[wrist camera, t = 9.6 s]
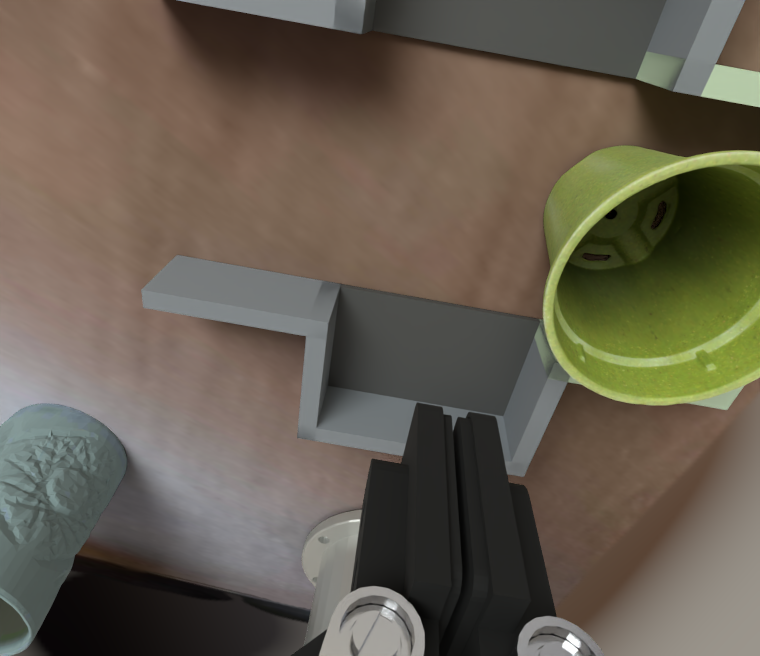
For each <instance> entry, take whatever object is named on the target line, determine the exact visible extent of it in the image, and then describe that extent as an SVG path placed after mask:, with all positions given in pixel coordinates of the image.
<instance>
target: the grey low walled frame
mask: <svg viewBox="0 0 760 656" xmlns="http://www.w3.org/2000/svg"><path fill="white" fill-rule="evenodd" d="M178 1H184V2H189V3H195V4H200V5H205V6H211V7H216V8H222V9H227V10H233V11H238V12H244V13H249V14H254V15H260V16H265V17H271V18H276V19H282V20H287V21H293V22H298V23H304V24H309V25H314V26H320V27H325V28H331V29H336V30H342V31H347V32H353V33H358V34H364V33H366V32H369V31H378V32H383V33H389V34H394V35H399V36H405V37H410V38H416V39H421V40H427V41H432V42H438V43H443V44H448V45H454V46H459V47H465V48H470V49H476V50H481V51H487V52H492V53H497V54H503V55H508V56H514V57H519V58H525V59H530V60H536V61H541V62H546V63H552V64H557V65H563V66H568V67H574V68H579V69H585V70H590V71H595V72H601V73H606V74H612V75H617V76H623V77H628V78H634V79H638V80H641V81H643V82H646V83H649V84H652V85H655V86H658V87H661V88H664V89H667V90H670V91H674V92H679V93H685V94H690V95H696V96H701V97H707V98H712V99H718V100H723V101H728V102H734V103H739V104H745V105H750V106H756V107H760V72H755V71H750V70H744V69H739V68H733V67H728V66H723V65H717V64H716V62H717V60H718V58H719V56H720V54H721V51H722V49H723V47H724V45H725V43H726V41H727V39H728V36H729V34H730V32H731V30H732V28H733V26H734V23H735V21H736V19H737V17H738V15H739V13H740V11H741V8H742V6H743V4H744V2H745V0H178ZM141 292H142V300H143V308H148V309H154V310H159V311H165V312H171V313H177V314H182V315H188V316H194V317H199V318H205V319H211V320H216V321H222V322H228V323H234V324H239V325H245V326H251V327H256V328H262V329H268V330H273V331H279V332H285V333H290V334H296V335H302V336H306V344H305V355H304V367H303V378H302V389H301V401H300V412H299V423H298V435H297V438H301V439H307V440H313V441H319V442H325V443H330V444H336V445H342V446H348V447H353V448H359V449H365V450H371V451H377V452H382V453H388V454H394V455H400V456H403V454H404V450H405V446H406V441H407V437H408V433H409V429H410V425H411V421H412V417H413V413H414V409H415V406H416V403H417V402H418V403H423V404H429V405H435V406H440V407H442V408H443V414H446V415H451V416H452V426H453V430H454V426H455V423H456V420H457V418H458V417H463V418H466V416H467V414H468V412H474V413H480V414H486V415H491V416H495V417H496V419H497V423H498V428H499V434H500V439H501V444H502V450H503V455H504V460H505V466H506V471H507V474H510V475H515V476H521V477H524V475H525V473H526V471H527V469H528V466H529V464H530V462H531V460H532V458H533V456H534V454H535V451H536V449H537V447H538V445H539V443H540V441H541V438H542V436H543V434H544V432H545V430H546V428H547V426H548V423H549V421H550V419H551V417H552V415H553V413H554V411H555V408H556V406H557V404H558V402H559V400H560V398H561V395H562V393H563V391H564V389H565V387H566V385H567V383H568V382H569V383H575V384H580V383H578V382H577V381H576V380H575V379H573V378H572V377H571V376H570V375H569V374H568V373H567V372H566V371H565V370H564V369H563V368H562V366H561V365H560V364H559V362H558V361H557V359H556V358H555V356H554V354H553V352H552V350H551V348H550V345H549V342H548V340H547V336H546V332H545V328H544V322H543V320H542V319H536V318H530V317H525V316H519V315H513V314H508V313H502V312H496V311H491V310H485V309H479V308H474V307H468V306H463V305H457V304H451V303H446V302H440V301H434V300H429V299H423V298H417V297H412V296H406V295H400V294H395V293H389V292H383V291H378V290H372V289H367V288H361V287H355V286H350V285H344V284H338V283H333V282H327V281H321V280H316V279H310V278H304V277H299V276H293V275H287V274H282V273H276V272H271V271H265V270H259V269H254V268H248V267H242V266H237V265H231V264H225V263H220V262H214V261H208V260H203V259H197V258H191V257H186V256H180V255H177V256H176V257H175V258H174V259H173V260H171V261H170V262H169V263H168V264H167V265H166V266H165V267H164V268H163V269H162V270H161V271H160V272H159V273H158V274H157V275H156V276H155V277H154V278H153V279H152V280H151V281H150V282H149V283H148V284H147V285H146V286H145V287H144V288H143V289H142V290H141ZM581 385H582V384H581ZM744 386H745V385H744ZM744 386H742V387H740V388H737V389H734V390H731V391H729V392H726V393H723V394H721V395H718V396H715V397H712V398H709V399H705V400H701V401H696V402H690V403H689V404H695V405H700V406H706V407H712V408H718V409H723V410H727V409H728V408H729V406H730V405H731V404H732V402H733V401H734V400H735V398H736V397H737V395H738V394H739V393H740V391H741V390H742V388H743V387H744Z"/></svg>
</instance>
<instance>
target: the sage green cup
mask: <svg viewBox="0 0 760 656" xmlns="http://www.w3.org/2000/svg"><path fill="white" fill-rule="evenodd" d="M126 467H127V457H126V453H125V450H124V448H123V446H122V444H121V443H120V441H119V440H118V438H117V437H116V436H115V435H114V434H113V433H112V432H111V431H110V430H109V429H108V428H107V427H106V426H105V425H103V424H102V423H101V422H99V421H98V420H96V419H94V418H93V417H91V416H89V415H87V414H85V413H83V412H81V411H79V410H76V409H73V408H70V407H66V406H62V405H57V404H35V405H31V406H28V407H26V408H23V409H21V410H19V411H18V412H16V413H15V414H14V415H13V416H12V417H10V418H9V419H8V420H7V421H6V422H4V423H3V424H2V425H1V426H0V656H11V655H15V654H18V653H21V652H22V651H24V650H25V649H27V647H28V646H29V645H30V644H31V642H32V641H33V639H34V637H35V635H36V634H37V632H38V630H39V628H40V626H41V624H42V622H43V621H44V619H45V617H46V615H47V613H48V611H49V609H50V607H51V605H52V603H53V601H54V599H55V597H56V595H57V593H58V590H59V588H60V586H61V584H62V583H63V582H64V580H65V579H66V577H67V575H68V573H69V572H70V570H71V568H72V565H73V561H74V556H75V554H77V553H78V552H79V551H80V549H81V547H82V546H83V545H84V543H85V542H86V540H87V539H88V537H89V536H90V532H91V531H92V530H93V528H94V526H95V524H96V522H97V521H98V519H99V517H100V515H101V513H102V512H103V511H104V509H105V508H106V507H107V506H108V504H109V502H110V500H111V498H112V497H113V495H114V493H115V491H116V489H117V488H118V486H119V484H120V482H121V480H122V479H123V477H124V475H125V472H126Z"/></svg>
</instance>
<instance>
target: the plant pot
mask: <svg viewBox="0 0 760 656" xmlns="http://www.w3.org/2000/svg"><path fill="white" fill-rule="evenodd" d="M662 201H665V203H666V212H665V215H664V217H663V219H662V221H661V223H660V224H659V225H658V226H657V227H656V228H655V229H652V228H651V225H652V223H653V220H654V218H655V216H656V214H657V211H658V205H659V203H660V202H662ZM612 209H613V210H615V211H617V216H616V217H615V218H613V219H607V218H606V217H605V215H606V214H607V213H608V212H609V211H611V210H612ZM543 222H544V232H545V238H546V244H547V249H548V254H549V261H550V267H551V269H550V271H549V274H548V277H547V280H546V284H545V289H544V296H543V322H544V328H545V332H546V336H547V340H548V342H549V345H550V348H551V350H552V352H553V354H554V356H555V358H556V359H557V361H558V362H559V364H560V365H561V366H562V368H563V369H564V370H565V371H566V372H567V373H568V374H569V375H570V376H571V377H572V378H573V379H575V380H576V381H577V382H578V383H580V384H582V385H583V386H585V387H586V388H588V389H590V390H592V391H594V392H596V393H598V394H600V395H602V396H605V397H607V398H610V399H613V400H616V401H621V402H625V403H632V404H645V405H652V406H655V405H673V404H678V403H679V404H682V403H690V402H696V401H701V400H705V399H709V398H712V397H715V396H718V395H721V394H723V393H726V392H729V391H731V390H734V389H737V388H740V387H742V386H744V385H746V384H748V383H750V382H752V381H754V380H756V379H758V378H760V152H758V151H744V150H734V151H719V152H711V153H705V154H700V155H695V156H691V157H687V158H686V157H681V156H676V155H671V154H667V153H663V152H659V151H655V150H650V149H646V148H642V147H638V146H615V147H609V148H605V149H601V150H598V151H596V152H593V153H592V154H590V155H589V156H587V157H586V158H584V159H583V160H582V161H580V162H579V163H578V164H576V165H575V166H574V167H572V168H571V169H570V170H569V171H567V172H566V173H565V174H564V175H562V176H561V178H560V179H559V180H558V181H557V183H556V184H555V186H554V187H553V189H552V191H551V193H550V195H549V197H548V200H547V203H546V206H545V210H544V219H543ZM584 253H589V254H596V255H608V254H609V255H610V258H608V260H606V261H602V260H601V261H600V260H596V261H589V260H586V259H583V256H582V255H583V254H584Z"/></svg>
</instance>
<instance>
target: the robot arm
mask: <svg viewBox="0 0 760 656" xmlns="http://www.w3.org/2000/svg"><path fill="white" fill-rule="evenodd" d="M301 561H302V566H303V570H304V572H305V574H306V576H307V578H308V579H309V580H310V582H311V583H312V584H313V585H314V586H315V587H316V588H315V593H314V598H313V603H312V608H311V613H310V618H309V623H308V628H307V634H306V638H305V644H304V646H303V647H302V648H301V649H299V650H298V651H297V652H295V653H294V654H292V655H291V656H604V654H603V652H602V650H601V649H600V648H599V646H598V645H597V644H596V643H595V642H594V640H593V639H592V638H591V637H590V636H589V635H588V634H587V633H585V632H584V631H583V630H581V629H580V628H579V627H578V626H576V625H575V624H573V623H571V622H568V621H566V620H564V619H562V618H557V617H556V612H555V608H554V603H553V599H552V594H551V590H550V586H549V581H548V577H547V572H546V568H545V564H544V559H543V555H542V550H541V546H540V542H539V537H538V533H537V528H536V524H535V520H534V515H533V511H532V506H531V502H530V498H529V494H528V491H527V489H526V487H525V486H524V485H519V484H513V483H509V482H508V476H507V471H506V466H505V460H504V455H503V450H502V444H501V439H500V434H499V428H498V423H497V419H496V417H495V416H491V415H486V414H480V413H474V412H468V414H467V416H466V418H463V417H458V418H457V420H456V423H455V426H454V430H453V426H452V416H451V415H446V414H443V408H442V407H440V406H435V405H429V404H423V403H418V402H417V403H416V406H415V409H414V413H413V417H412V421H411V425H410V429H409V433H408V437H407V441H406V446H405V450H404V454H403V458H402V462H401V464H399V463H393V462H388V461H382V460H376V459H372V460H371V464H370V469H369V474H368V479H367V484H366V489H365V494H364V500H363V506H362V510H355V511H349V512H344V513H341V514H338V515H335V516H332V517H330V518H328V519H326V520H325V521H323V522H321V523H319V524H318V525H317V526H316V527H315V528H314V529H313V530H312V531H311V532H310V534H309V535H308V537H307V538H306V541H305V544H304V548H303V552H302V560H301Z"/></svg>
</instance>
